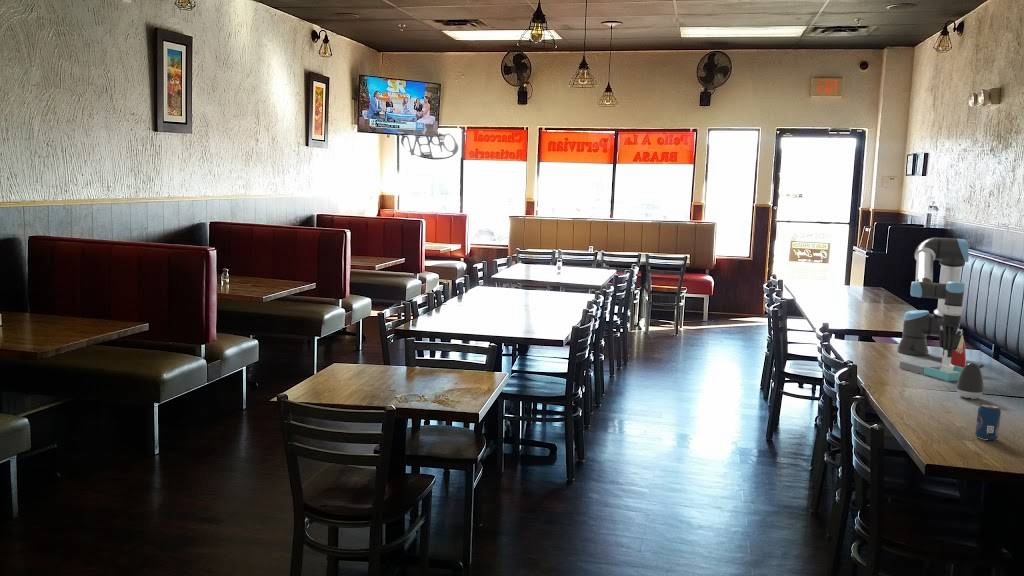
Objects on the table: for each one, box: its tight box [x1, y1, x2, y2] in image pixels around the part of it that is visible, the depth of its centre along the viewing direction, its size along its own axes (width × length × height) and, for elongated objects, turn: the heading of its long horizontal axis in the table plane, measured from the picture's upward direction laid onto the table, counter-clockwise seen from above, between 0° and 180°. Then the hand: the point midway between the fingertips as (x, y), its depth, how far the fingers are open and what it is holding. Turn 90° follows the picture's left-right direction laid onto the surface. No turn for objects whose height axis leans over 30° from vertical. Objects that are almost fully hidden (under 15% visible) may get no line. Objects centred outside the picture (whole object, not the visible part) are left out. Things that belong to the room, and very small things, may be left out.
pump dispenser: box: [955, 362, 985, 400], centre depth 341 cm, size 10×10×15 cm
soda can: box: [974, 403, 1002, 441], centre depth 283 cm, size 7×7×12 cm
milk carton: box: [941, 329, 967, 368], centre depth 399 cm, size 9×9×20 cm
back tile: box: [940, 363, 954, 371], centre depth 382 cm, size 5×5×2 cm
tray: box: [922, 365, 963, 383], centre depth 380 cm, size 18×14×4 cm
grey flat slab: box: [899, 359, 943, 375], centre depth 393 cm, size 18×14×4 cm
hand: (946, 363), depth 382 cm, fingers closed
